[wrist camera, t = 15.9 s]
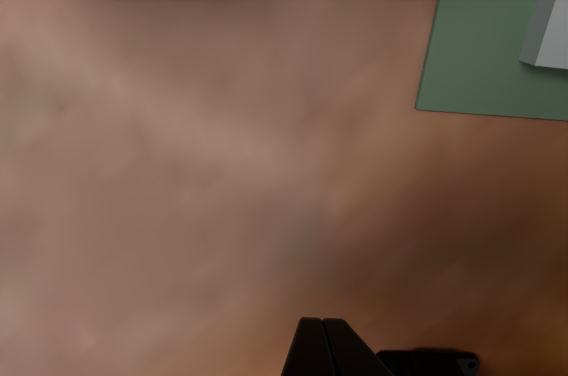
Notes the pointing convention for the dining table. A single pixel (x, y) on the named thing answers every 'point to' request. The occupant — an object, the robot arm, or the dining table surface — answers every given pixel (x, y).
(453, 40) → the strip
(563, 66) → the slate domino
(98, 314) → the dining table surface
